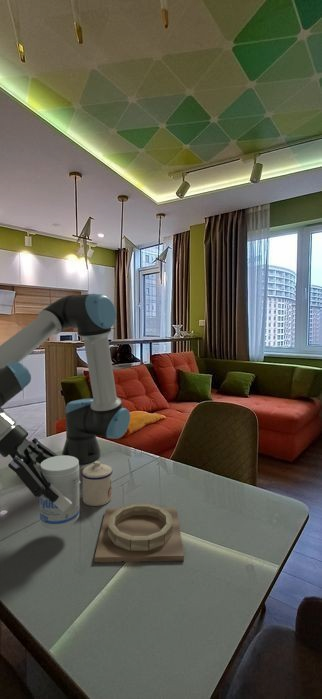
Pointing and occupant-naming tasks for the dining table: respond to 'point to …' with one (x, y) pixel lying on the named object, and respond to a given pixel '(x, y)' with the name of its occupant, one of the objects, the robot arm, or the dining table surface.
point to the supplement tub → (66, 480)
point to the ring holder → (140, 534)
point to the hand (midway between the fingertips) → (72, 496)
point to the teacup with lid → (97, 484)
